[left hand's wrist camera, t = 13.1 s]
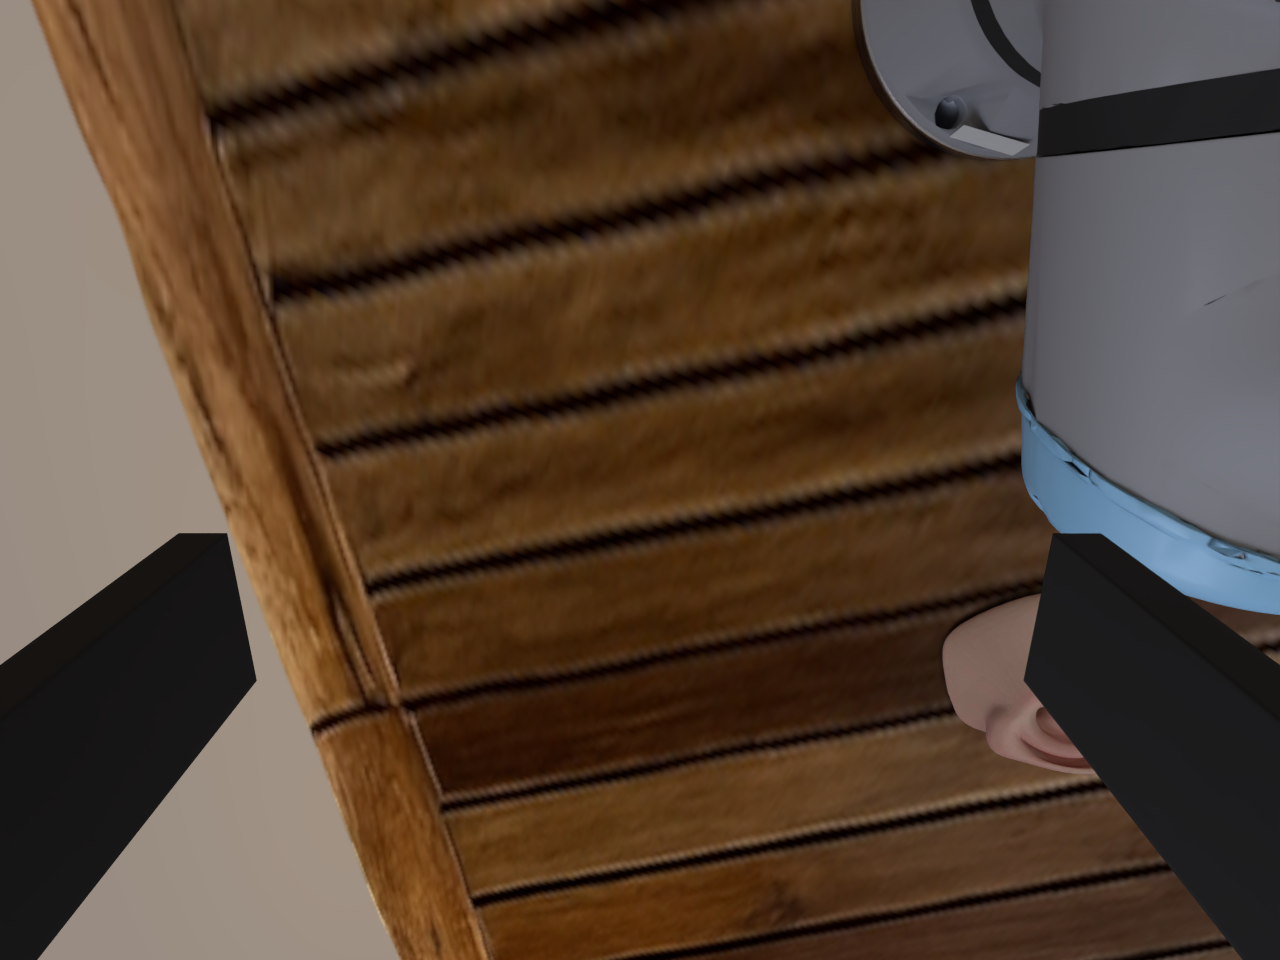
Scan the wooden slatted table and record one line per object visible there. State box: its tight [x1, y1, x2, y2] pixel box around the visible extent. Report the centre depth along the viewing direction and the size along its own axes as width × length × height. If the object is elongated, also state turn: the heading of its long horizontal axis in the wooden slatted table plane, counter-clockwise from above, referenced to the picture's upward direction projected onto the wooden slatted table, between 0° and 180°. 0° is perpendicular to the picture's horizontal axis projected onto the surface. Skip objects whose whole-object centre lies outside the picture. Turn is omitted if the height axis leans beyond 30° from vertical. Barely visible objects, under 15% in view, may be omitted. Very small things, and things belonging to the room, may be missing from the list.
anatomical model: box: [943, 594, 1096, 774], centre depth 47 cm, size 13×4×12 cm
